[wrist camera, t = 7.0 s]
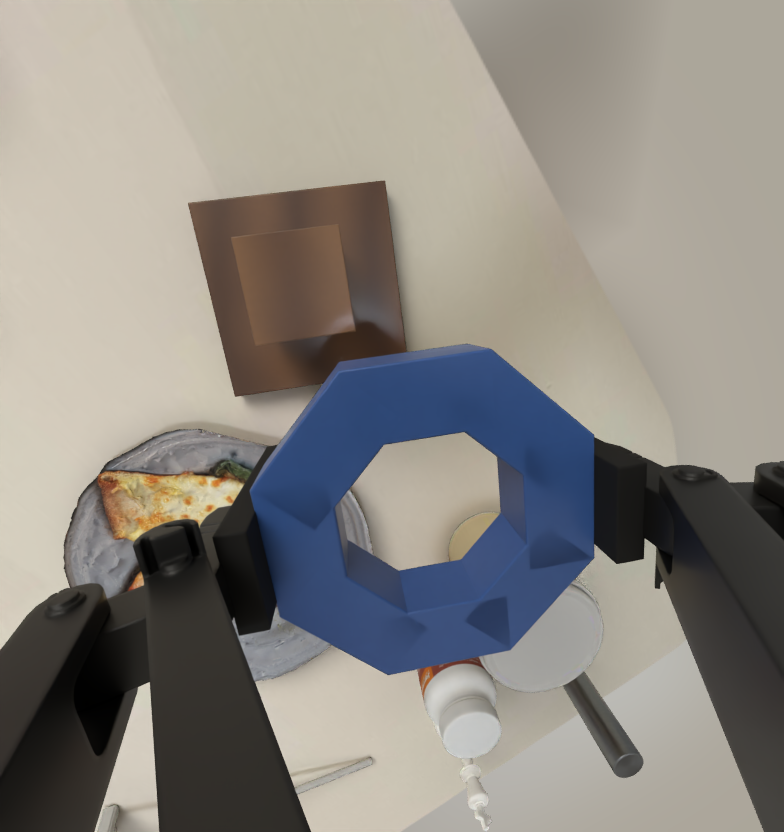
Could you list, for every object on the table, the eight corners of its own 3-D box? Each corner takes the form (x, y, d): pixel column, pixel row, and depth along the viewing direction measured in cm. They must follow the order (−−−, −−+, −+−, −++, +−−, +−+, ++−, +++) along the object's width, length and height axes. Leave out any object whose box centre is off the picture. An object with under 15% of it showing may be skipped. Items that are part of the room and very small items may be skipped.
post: (581, 585, 42) (688, 706, 29) (582, 654, 44) (681, 794, 31) (498, 602, 41) (570, 734, 28) (504, 671, 44) (572, 822, 31)
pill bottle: (404, 608, 40) (427, 715, 30) (464, 595, 41) (507, 695, 30) (413, 658, 42) (438, 776, 31) (471, 644, 42) (514, 756, 32)
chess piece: (456, 741, 45) (486, 856, 36) (424, 723, 44) (446, 837, 34) (485, 712, 45) (524, 821, 35) (453, 692, 44) (485, 800, 34)
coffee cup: (511, 595, 41) (577, 704, 30) (426, 578, 40) (462, 687, 28) (545, 515, 39) (629, 598, 28) (457, 493, 38) (509, 573, 26)
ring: (554, 331, 12) (595, 333, 10) (561, 590, 14) (595, 634, 12) (244, 374, 11) (223, 387, 9) (303, 640, 13) (296, 694, 11)
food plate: (63, 637, 37) (34, 670, 33) (98, 395, 32) (69, 405, 28) (331, 674, 41) (331, 706, 38) (397, 467, 36) (403, 482, 33)
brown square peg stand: (383, 186, 31) (399, 135, 22) (406, 367, 34) (427, 386, 26) (194, 208, 29) (133, 163, 21) (239, 393, 33) (203, 421, 24)
